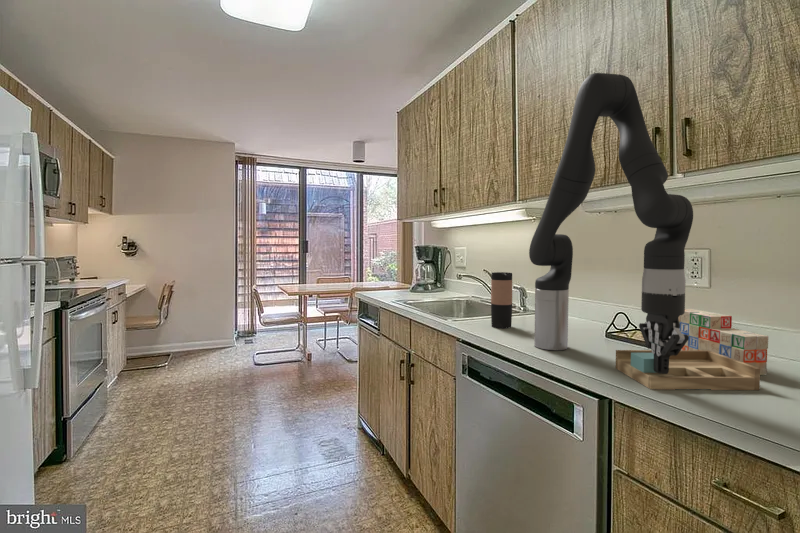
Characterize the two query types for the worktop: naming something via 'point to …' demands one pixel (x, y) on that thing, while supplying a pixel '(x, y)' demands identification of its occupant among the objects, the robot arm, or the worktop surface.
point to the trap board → (694, 371)
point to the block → (643, 362)
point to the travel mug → (501, 300)
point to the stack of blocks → (723, 338)
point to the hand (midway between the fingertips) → (661, 372)
